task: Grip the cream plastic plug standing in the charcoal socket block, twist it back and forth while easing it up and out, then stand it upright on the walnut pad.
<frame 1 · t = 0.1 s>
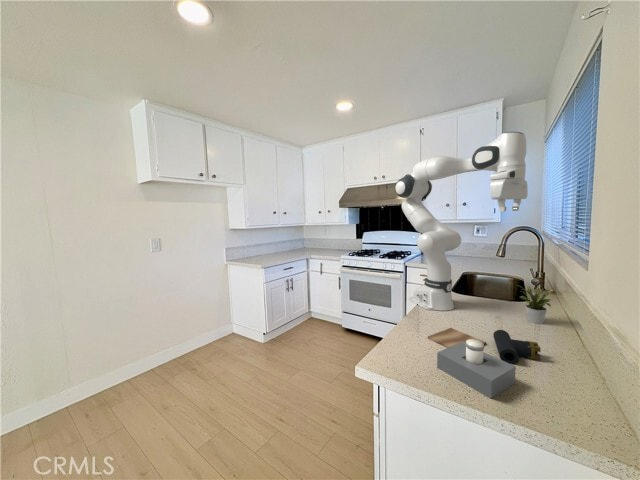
hand: (509, 211, 100), 48 cm above the countertop, tool pointing down, fingers open, 8 cm apart
pipe connector: (516, 355, 87), on the countertop
pad: (456, 341, 96), on the countertop
house plant: (531, 321, 111), on the countertop
socket block: (473, 374, 76), on the countertop
plug: (474, 359, 76), in the socket block
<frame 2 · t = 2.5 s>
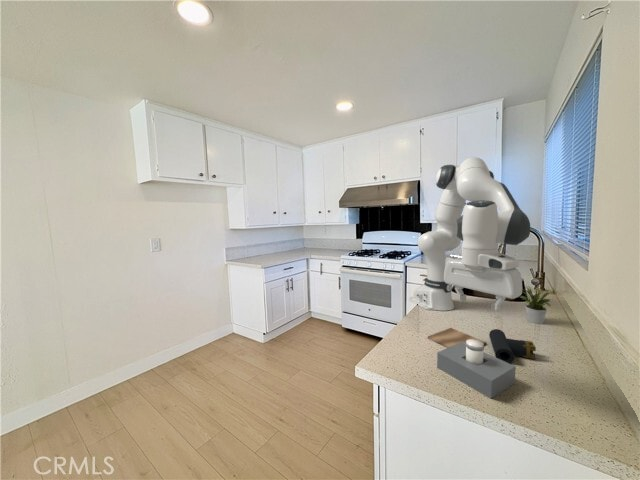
hand: (478, 305, 74), 22 cm above the countertop, tool pointing down, fingers open, 8 cm apart
pipe connector: (512, 354, 87), on the countertop
everything else where it was.
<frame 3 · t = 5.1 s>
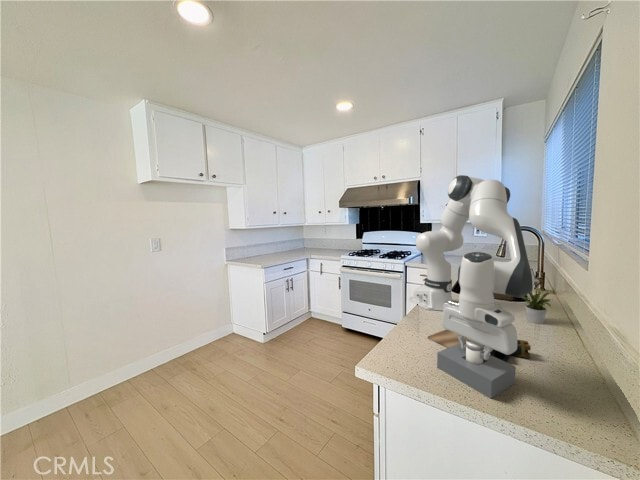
hand: (474, 353, 76), 7 cm above the countertop, tool pointing down, fingers closed on plug, 4 cm apart
pipe connector: (507, 354, 88), on the countertop
plug: (474, 359, 76), in the socket block, touching gripper
everything else where it was.
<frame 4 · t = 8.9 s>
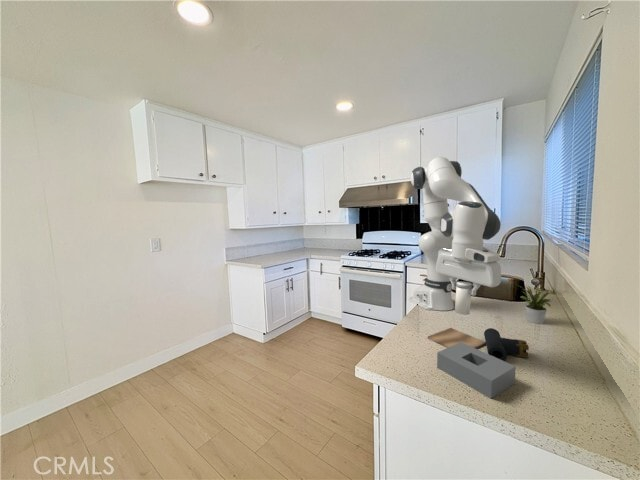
hand: (463, 292, 86), 22 cm above the countertop, tool pointing down, fingers closed on plug, 4 cm apart
plug: (463, 297, 86), point 20 cm above the countertop, touching gripper
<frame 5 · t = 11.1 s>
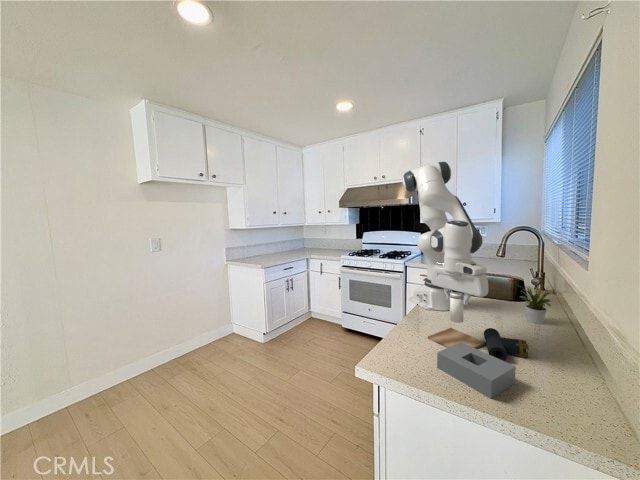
hand: (456, 302, 95), 15 cm above the countertop, tool pointing down, fingers closed on plug, 4 cm apart
plug: (456, 307, 95), point 13 cm above the countertop, touching gripper
everything else where it was.
when the fingers open (9 cm above the countertop, at t = 13.0 s): plug drops 1 cm, resting on pad.
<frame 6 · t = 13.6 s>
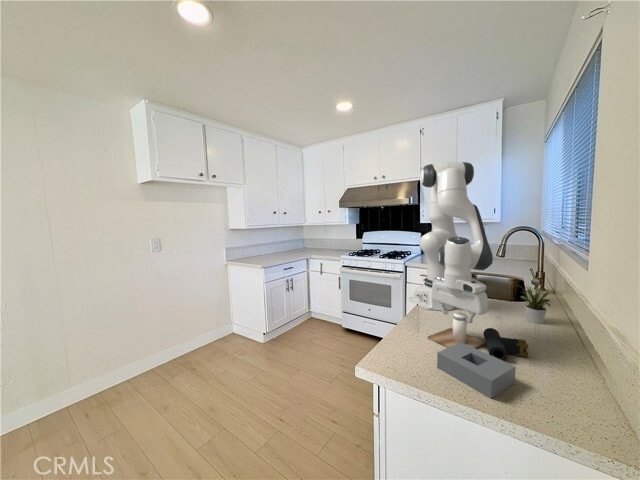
hand: (456, 317, 95), 9 cm above the countertop, tool pointing down, fingers open, 8 cm apart
plug: (459, 327, 94), on the pad, point 6 cm above the countertop
everything else where it was.
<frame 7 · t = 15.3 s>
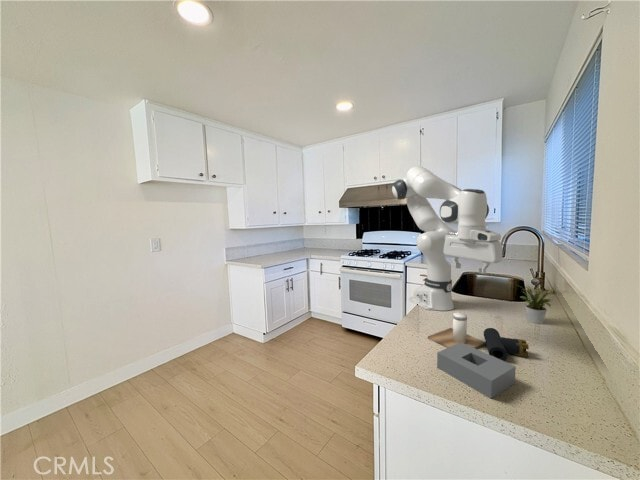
hand: (469, 270, 95), 26 cm above the countertop, tool pointing down, fingers open, 8 cm apart
nothing on the countertop moved.
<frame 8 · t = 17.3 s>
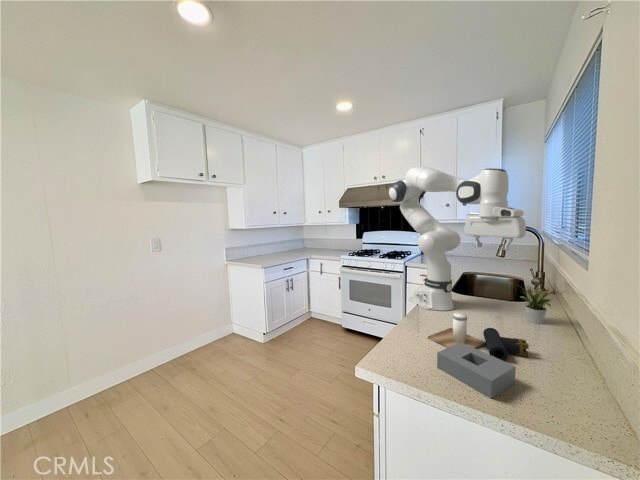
hand: (491, 248, 98), 34 cm above the countertop, tool pointing down, fingers open, 8 cm apart
nothing on the countertop moved.
at the end: plug inside the target area on the pad (1.4 cm from its centre), point 5.8 cm above the pad's base; plug tilted 0°; the gripper is holding nothing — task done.
